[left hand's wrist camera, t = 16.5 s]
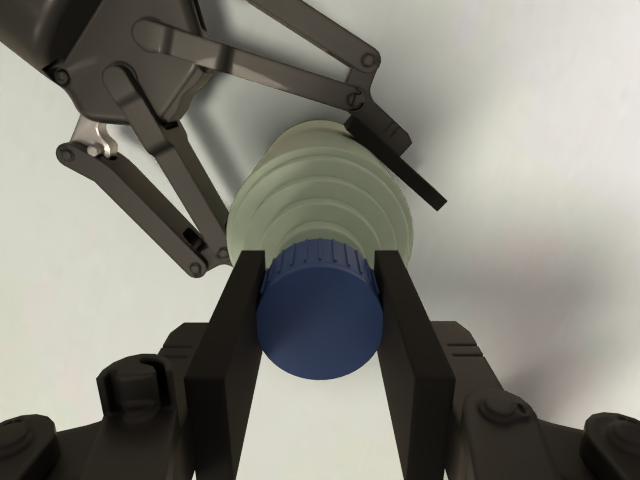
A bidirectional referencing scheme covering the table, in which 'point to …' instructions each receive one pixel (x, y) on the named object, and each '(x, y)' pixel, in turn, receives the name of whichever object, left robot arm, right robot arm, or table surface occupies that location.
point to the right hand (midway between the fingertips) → (381, 254)
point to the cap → (319, 310)
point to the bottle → (319, 197)
